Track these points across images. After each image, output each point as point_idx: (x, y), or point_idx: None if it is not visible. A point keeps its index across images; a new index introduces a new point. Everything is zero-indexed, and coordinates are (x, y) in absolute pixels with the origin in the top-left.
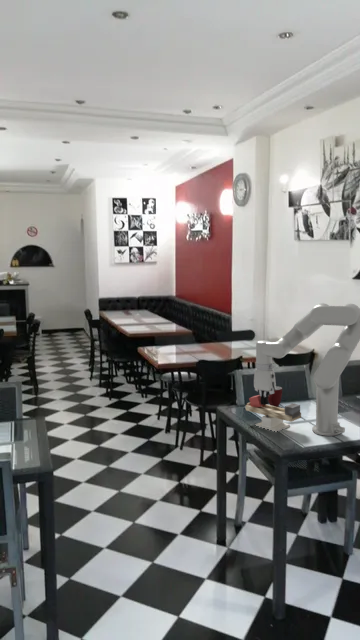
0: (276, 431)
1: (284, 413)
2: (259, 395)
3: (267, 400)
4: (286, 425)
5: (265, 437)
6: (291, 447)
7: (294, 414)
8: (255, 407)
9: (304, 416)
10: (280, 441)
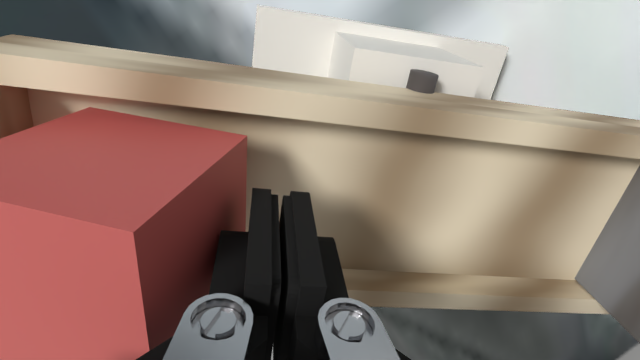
0: None
1: (553, 194)
2: (134, 338)
3: (336, 269)
4: (486, 96)
5: (406, 325)
6: (571, 347)
7: None
8: None
9: None
10: (502, 322)
